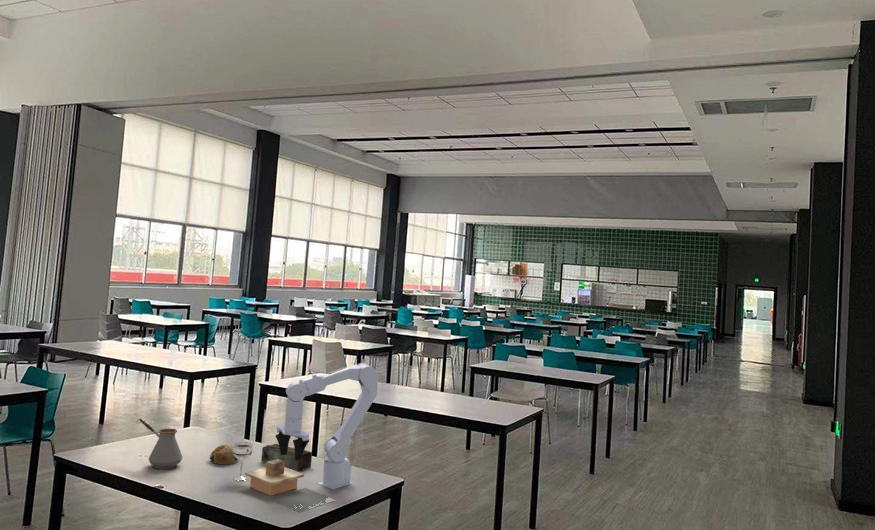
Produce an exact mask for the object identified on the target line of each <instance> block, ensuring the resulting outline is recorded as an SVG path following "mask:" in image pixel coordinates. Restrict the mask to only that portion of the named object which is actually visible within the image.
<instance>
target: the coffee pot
mask: <svg viewBox="0 0 875 530" xmlns="http://www.w3.org/2000/svg"><path fill="white" fill-rule="evenodd" d="M138 421H139V422H138ZM136 422H137V424H142V425H144V427H145V428H147V429H148V430H149V431H150V432H152V433H153V434H155V436H157V437H158V438H157V439H158V440H157V441H156V443H155V445H154V447H153V448H152V451H151V453H150V455H149V457H148V462H149V464H150V465H152V466H153V468H155V469H161V470H163V469H164V470H165V469H172V468H175V467H176V466H177V465H178V464H180V463H181V462H182V460H183V455H182V451H181V449H180V446H179V444H178V441H177V438H176V433H177V432H178V430H177V429H176V428H163V429H159V430H158V432H157V431H156V430H155V429H154V428H153V426H152V425H150V424H149V423H147V422H146V421H145V420H143V419H142V418H139V419H138V420H136Z"/></svg>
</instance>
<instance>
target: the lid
mask: <svg viewBox="0 0 875 530" xmlns="http://www.w3.org/2000/svg"><path fill="white" fill-rule="evenodd" d="M265 464H266V465H265V467H263V468H259V469H254V470H250V471H246V472H244V475H245V477H249V478H250V479H251V478H254V479H256V480H259V481H261V482H264V483H266V484H269V485H274V484H278V483H282V482H286V481H289V480H293V479H297V478H298V479H300V478H304V477H305V474H304V473H303V472H302V473H301V472H300V471H295V470H291V469H289V468H286V467H285V461H282V460H279V459H277V460H272V461H268V462H266V463H265Z"/></svg>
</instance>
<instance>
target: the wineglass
mask: <svg viewBox="0 0 875 530" xmlns="http://www.w3.org/2000/svg"><path fill="white" fill-rule="evenodd" d="M253 445H254V444H253V443H251V442H247V441H241V442H235V443H233V444H232V446H233V447H234V448H233V455H234V456H235V457H236V458H237V459H238V460H239V462H240V469H239V470H240V472H239V473H240V474H239V476H235V477H233V478H232V480H233V479H234V480H233V481H236V480H237V482H240V481H239V480H244V481H246V480H245V479H246V477H247V476H242V473H243V464H244V461H245V460H246V459H249V457H251V456H252V453H253Z"/></svg>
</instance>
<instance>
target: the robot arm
mask: <svg viewBox="0 0 875 530" xmlns="http://www.w3.org/2000/svg"><path fill="white" fill-rule="evenodd" d="M379 379H380V378H379V375H378V372H377V370H376V369H375V368H374V367H373V366H370V365H369V364H368V363H365V362H360V363H358V364H353V365H350V366H348V367H345V368H343V369H339V370H338V371H335V372H333V373H329V374H327V375H326V376H325V375H324V376H323V375H321V374H318V375H317V374H316V373H314V374H312V375H311V377H308V378H305V379H302V378H301V379H299V380H298V381H293V382H291V383H289V384H288V385H287V387H286V389H285V393H286V395H287V397H286V398H287V399H286V406H285V415H284V416H285V419H284V426H283V425H280V426H276V433H277V434H275V438H276V441H277V444H279V447H280V453H281V455H286V454H287V451H288V447H289V444H290V440H291V437H294V438H295V439H293V440H292V443H293V446H294V447H293V448H295V460H301V458H302V454H303V452H304V450H305V449H306V447H307V446H308V444H309V442H310V439H309V438H310V435H309V433H306V432H305V431H303V430H302V425H303V413H304V404H303V403H304V399H305V397H308V396H312V395H314V394H317V393H320V392H323V391H325V389H326V387H328V386H330V385H333V384H336V383H339V382H343V381H347V380H352V381H356V382H358V383H359V386H360V390H361V393H360V394H359V396H358V398H357V399H356V401H355V402H354V404H353V406H352V407H351V409H350V411H349V413H348V414H347V415H346V417H345V419H344V420H343V422H342V423H341V425H340V427H339V428H338V430H337V431H335V432H334V433H333V435H332V436H331V437H330V438H328V439H327V440H326V441H325V442H324V447H323V449H324V452H325V453H326V455H325V456H324V462H323V475H322V481H320V482H317V484H318V485H320V486H323V487H325V488H328V489H331V490H335V489H339V488H341V487H345V486H348V485H352V482H351V472H352V471H351V469H352V465H351V460H350V459H349V458H347V453H348V449H349V447H350V446H351V445H350V444H351V439H352V437H353V435H354V433H355V432H356V430H357V429H358V427H359V425H360V423H361V422H362V421H363V419H364V417H365V416H366V414H367V412H368V410H369V409H370V407H371V406H372V403H373V402H374V400H375V398H376V397H377V395H378V382H379ZM296 438H297V439H296Z"/></svg>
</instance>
